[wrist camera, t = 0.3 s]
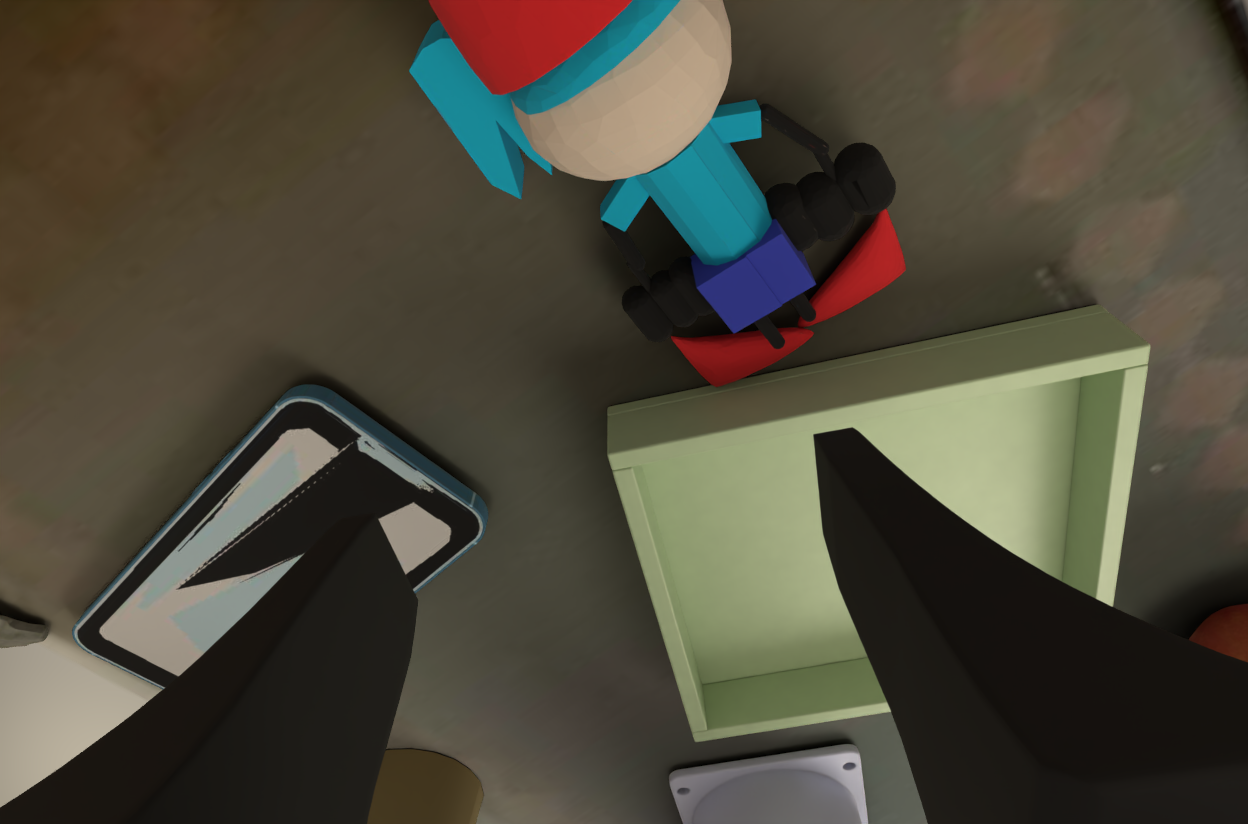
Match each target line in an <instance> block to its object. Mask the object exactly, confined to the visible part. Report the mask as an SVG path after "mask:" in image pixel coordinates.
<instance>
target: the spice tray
mask: <svg viewBox="0 0 1248 824" xmlns="http://www.w3.org/2000/svg"><path fill="white" fill-rule="evenodd" d="M1149 353H1150V344H1149V343H1148V342H1146V341H1145V340H1144V339H1142V338H1141V337H1140V336H1139V335H1137V334H1136V333H1135V332H1133V331H1132V330H1131V329H1130V328H1128V327H1127V326H1126V325H1125V324H1123V323H1122V322H1121V321H1119V320H1118V319H1117V318H1116V317H1114V316H1113V315H1112V314H1110V313H1108V312H1107V310H1106V309H1104V308H1103V307H1102V306H1101V305H1093V306H1088V307H1083V308H1079V309H1074V310H1069V311H1064V312H1060V313H1055V314H1050V315H1045V316H1040V317H1036V318H1031V319H1026V320H1021V321H1016V322H1012V323H1007V324H1002V325H997V326H993V327H988V328H983V329H978V330H973V331H969V332H964V333H959V334H954V335H949V336H945V337H940V338H935V339H930V340H926V341H921V342H916V343H911V344H906V345H902V346H897V347H892V348H887V349H883V350H878V351H873V352H868V353H863V354H859V355H854V356H849V357H844V358H839V359H835V360H830V361H825V362H820V363H816V364H811V365H806V366H801V367H796V368H792V369H787V370H782V371H777V372H772V373H768V374H763V375H758V376H753V377H749V378H744V379H739V380H737V381H735V382H732V383H729V384H726V385H723V386H719V387H715V386H713V385H710V386H706V387H701V388H696V389H691V390H686V391H682V392H677V393H672V394H667V395H662V396H658V397H653V398H648V399H643V400H639V401H634V402H629V403H624V404H619V405H615V406H610V407H608V409H607V416H608V418H607V456H608V459H609V463H610V466H611V468H612V472H613V476H614V479H615V482H616V486H617V489H618V492H619V495H620V499H621V502H622V505H623V509H624V512H625V515H626V518H627V522H628V525H629V528H630V531H631V535H632V538H633V541H634V545H635V548H636V551H637V554H638V558H639V561H640V564H641V568H642V571H643V574H644V577H645V581H646V584H647V587H648V591H649V594H650V597H651V600H652V604H653V607H654V610H655V613H656V617H657V620H658V623H659V627H660V630H661V633H662V636H663V640H664V643H665V646H666V650H667V653H668V656H669V659H670V663H671V666H672V669H673V672H674V676H675V679H676V682H677V686H678V689H679V692H680V695H681V699H682V702H683V705H684V709H685V712H686V715H687V718H688V722H689V725H690V728H691V731H692V735H693V738H694V741H695V742H700V741H707V740H713V739H720V738H726V737H732V736H739V735H745V734H751V733H758V732H764V731H770V730H777V729H783V728H789V727H796V726H802V725H808V724H815V723H821V722H827V721H834V720H840V719H846V718H853V717H859V716H866V715H872V714H878V713H885V712H891V710H890V708H889V706H888V703H887V701H886V699H885V696H884V694H883V692H882V689H881V687H880V685H879V682H878V680H877V677H876V675H875V673H874V670H873V668H872V666H871V663H870V661H869V659H868V656H867V654H866V652H865V649H864V647H863V645H862V642H861V640H860V638H859V635H858V633H857V631H856V628H855V626H854V624H853V621H852V619H851V616H850V614H849V612H848V609H847V607H846V605H845V602H844V600H843V597H842V595H841V593H840V590H839V587H838V584H837V581H836V577H835V574H834V571H833V567H832V564H831V560H830V557H829V553H828V550H827V546H826V543H825V539H824V536H823V531H822V521H821V510H820V500H819V490H818V479H817V469H816V459H815V448H814V438H813V434H817V433H823V432H828V431H834V430H840V429H845V428H851V427H853V428H855V429H856V430H858V431H859V432H860V433H861V434H862V435H863V436H865V437H866V438H867V439H868V440H869V441H870V442H871V443H872V444H873V445H874V446H875V447H876V448H877V449H878V450H879V451H880V452H882V453H883V454H884V455H885V456H886V457H887V458H888V459H889V460H890V461H892V462H893V463H894V464H895V465H896V466H897V467H898V468H900V469H901V470H902V471H903V472H904V473H905V474H906V475H908V476H909V477H910V478H911V479H912V480H914V481H915V482H916V483H917V484H918V485H920V486H921V487H922V488H923V489H925V490H926V491H927V492H928V493H930V494H931V495H932V496H933V497H935V498H936V499H937V500H938V501H940V502H941V503H942V504H943V505H945V506H946V507H947V508H949V509H950V510H951V511H953V512H954V513H955V514H957V515H958V516H959V517H961V518H962V519H963V520H965V521H966V522H968V523H969V524H970V525H972V526H973V527H975V528H976V529H978V530H979V531H980V532H982V533H983V534H985V535H986V536H988V537H989V538H990V539H992V540H993V541H995V542H996V543H998V544H999V545H1001V546H1003V547H1004V548H1006V549H1007V550H1009V551H1010V552H1012V553H1013V554H1015V555H1017V556H1019V557H1020V558H1022V559H1024V560H1025V561H1027V562H1029V563H1030V564H1032V565H1034V566H1035V567H1037V568H1039V569H1041V570H1042V571H1044V572H1046V573H1047V574H1049V575H1051V576H1053V577H1055V578H1057V579H1058V580H1060V581H1062V582H1064V583H1066V584H1068V585H1070V586H1072V587H1073V588H1075V589H1077V590H1079V591H1081V592H1084V593H1086V594H1088V595H1090V596H1092V597H1094V598H1096V599H1098V600H1100V601H1102V602H1104V603H1106V604H1108V605H1110V606H1112V607H1113V603H1114V596H1115V589H1116V582H1117V576H1118V569H1119V562H1120V555H1121V548H1122V541H1123V534H1124V527H1125V521H1126V514H1127V507H1128V500H1129V493H1130V486H1131V479H1132V473H1133V466H1134V459H1135V452H1136V445H1137V438H1138V431H1139V424H1140V418H1141V411H1142V404H1143V397H1144V390H1145V383H1146V376H1147V369H1148V365H1147V363H1148V360H1149Z"/></svg>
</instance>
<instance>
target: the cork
mask: <svg viewBox="0 0 1248 824" xmlns="http://www.w3.org/2000/svg"><path fill="white" fill-rule="evenodd" d="M483 796H484V794H483V790H482V786H481V782H480V781H479V780H478V779H477V777H476V776H475V775H474V774H473V772H472V771H471V770H470V769H468V768H467V767H465V766H464V765H462V764H460V763H459V762H457V761H456V760H454V759H451V758H448V757H446V756H443V755H440V754H437V753H435V752H428V751H421V750H415V749H398V750H386V751H385V753H384V757H383V761H382V764H381V768H380V771H379V775H378V779H377V782H376V786H375V790H374V794H373V799H372V803H371V807H370V811H369V816H368V822H367V824H476V821H477V817H478V814H479V810H480V807H481V803H482V800H483Z"/></svg>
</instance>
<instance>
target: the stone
mask: <svg viewBox="0 0 1248 824" xmlns="http://www.w3.org/2000/svg"><path fill="white" fill-rule="evenodd" d="M47 636H48V632H47V626H45V625H37V624H29V623H26V622H23V621H18V620H15V619H12V618H10V617H6V616H2V615H0V648H9V647H16V646H27V645H29V644H32V643H37V642H42V641H44V640H45V639H46V638H47Z"/></svg>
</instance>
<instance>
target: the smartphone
mask: <svg viewBox="0 0 1248 824" xmlns="http://www.w3.org/2000/svg"><path fill="white" fill-rule="evenodd" d="M369 513H376V515H377V517H378V520H379V522H380V524H381V526H382V528H383V530H384V532H385V534H386V536H387V538H388V540H389V542H390V544H391V546H392V548H393V550H394V552H395V554H396V556H397V558H398V560H399V562H400V564H401V566H402V568H403V570H404V572H405V574H406V576H407V578H408V580H409V582H410V584H411V587H412V589H413V591H414V593H416V592H418V591H419V590H420V589H421V588H423V587H424V586H425V585H426V584H428V583H429V582H430V581H431V580H432V579H434V578H435V577H436V576H437V575H439V574H440V573H441V572H442V571H444V570H445V569H446V568H447V567H448V566H450V565H451V564H452V563H453V562H455V561H456V560H457V559H458V558H460V557H461V556H462V555H463V554H464V553H466V552H467V551H468V550H469V549H471V548H472V547H473V546H474V545H476V544H477V543H478V542H479V541H480V540H481V539H482V537H483V535H484V533H485V529H486V525H487V520H488V509H487V506H486V504H485V502H484V501H483V500H482V498H481V497H480V496H479V495H477V494H476V493H475V492H474V491H472V490H471V489H469V488H468V487H467V486H465V485H464V484H462V483H461V482H460V481H458V480H457V479H455V478H454V477H453V476H451V475H450V474H448V473H447V472H446V471H444V470H443V469H441V468H440V467H439V466H437V465H436V464H434V463H433V462H432V461H430V460H429V459H427V458H426V457H425V456H423V455H422V454H420V453H419V452H418V451H416V450H415V449H414V448H412V447H411V446H409V445H408V444H407V443H405V442H404V441H402V440H401V439H400V438H398V437H397V436H395V435H394V434H393V433H391V432H390V431H388V430H387V429H386V428H384V427H383V426H381V425H380V424H379V423H377V422H376V421H374V420H373V419H372V418H370V417H369V416H367V415H366V414H365V413H363V412H362V411H360V410H359V409H358V408H356V407H355V406H354V405H352V404H351V403H349V402H348V401H347V400H345V399H344V398H342V397H341V396H340V395H338V394H337V393H335V392H334V391H332V390H330V389H328V388H325V387H322V386H318V385H308V384H305V385H299V386H296V387H293V388H291V389H289V390H288V391H287V392H286V393H285V394H284V395H283V396H282V397H281V398H280V399H279V400H278V401H277V402H276V403H275V405H274V406H273V407H272V408H271V409H270V410H269V411H268V412H267V413H266V414H265V415H264V417H263V418H262V419H261V420H260V421H259V422H258V423H257V424H256V425H255V426H254V427H253V429H252V430H251V431H250V432H249V433H248V434H247V435H246V436H245V437H244V438H243V439H242V440H241V441H240V443H239V444H238V445H237V446H236V447H235V448H234V449H233V450H231V451H230V452H229V453H228V454H227V455H226V456H225V457H224V458H223V460H222V461H221V462H220V463H219V464H218V465H217V466H216V467H215V468H214V470H213V472H212V473H211V474H209V475H208V476H207V477H206V478H205V479H204V480H203V481H202V482H201V484H200V485H199V486H198V487H197V488H196V489H195V490H194V491H193V493H192V495H191V496H190V497H189V498H188V500H187V501H186V502H185V503H184V504H183V505H182V506H181V507H180V508H179V509H178V510H177V512H176V513H175V514H174V515H173V516H172V517H171V518H170V519H169V520H168V521H167V522H166V524H165V525H164V526H163V527H162V528H161V529H160V530H159V531H158V532H157V533H156V535H155V536H154V537H153V538H152V539H151V540H150V541H149V542H148V543H147V544H146V545H145V547H144V548H143V549H142V550H141V551H140V552H139V553H138V554H137V555H136V556H135V557H134V559H133V560H132V561H131V562H130V563H129V564H128V565H127V566H126V567H125V568H124V569H123V571H122V572H121V573H120V574H119V575H118V576H117V577H116V578H115V579H114V580H113V581H112V583H111V584H110V585H109V586H108V587H107V588H106V589H105V590H104V591H103V592H102V594H101V595H100V596H99V597H98V598H97V599H96V600H95V601H94V602H93V603H92V604H91V606H90V607H89V608H88V609H87V610H86V611H85V612H84V614H83V615H82V616H81V617H80V619H79V620H78V621H77V623H76V624H75V625H74V627H73V629H72V635H73V638H74V640H75V642H76V643H77V644H78V645H79V646H80V647H81V648H82V649H83V650H85V651H86V652H88V653H90V654H92V655H94V656H96V657H98V658H100V659H102V660H104V661H106V662H108V663H110V664H112V665H114V666H116V667H118V668H120V669H122V670H124V671H127V672H129V673H131V674H133V675H135V676H137V677H139V678H141V679H143V680H145V681H147V682H149V683H151V684H153V685H155V686H157V687H159V688H161V689H164V688H165V687H167V686H168V685H169V684H170V683H171V682H172V681H174V680H175V679H176V678H177V677H178V676H179V675H181V674H182V673H183V672H184V671H185V670H186V669H187V668H189V667H190V666H191V665H192V664H193V663H194V662H195V661H196V660H197V659H199V658H200V657H201V656H202V655H203V654H204V653H205V652H206V651H207V650H208V649H209V648H210V647H211V646H212V645H213V644H214V643H215V642H216V641H217V640H219V639H220V638H221V637H222V636H223V635H224V634H225V633H226V632H227V631H228V630H229V629H230V628H231V627H232V626H233V625H234V624H235V623H236V622H237V621H238V620H239V619H241V618H242V617H243V616H244V615H245V614H246V613H247V612H248V611H249V610H250V609H251V608H252V607H253V606H254V605H255V604H256V603H257V602H258V601H259V600H260V599H261V598H262V597H263V596H264V595H265V594H266V592H267V591H268V590H269V589H270V588H271V587H272V586H273V585H274V584H275V583H276V582H277V581H278V580H279V579H280V578H281V577H282V576H283V575H284V574H285V573H286V572H287V571H288V570H289V569H290V568H291V567H292V566H293V565H294V564H295V563H296V562H297V561H298V560H299V559H300V557H301V556H302V555H303V554H304V553H305V552H306V551H307V550H308V549H309V548H310V547H311V546H312V545H313V544H314V543H315V542H316V541H317V540H318V539H319V538H320V537H321V536H322V535H323V534H324V533H325V532H326V531H327V530H328V529H329V528H330V527H332V526H333V525H334V524H335V523H336V522H337V521H338V520H339V519H341V518H347V517H353V516H358V515H364V514H369Z"/></svg>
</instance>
